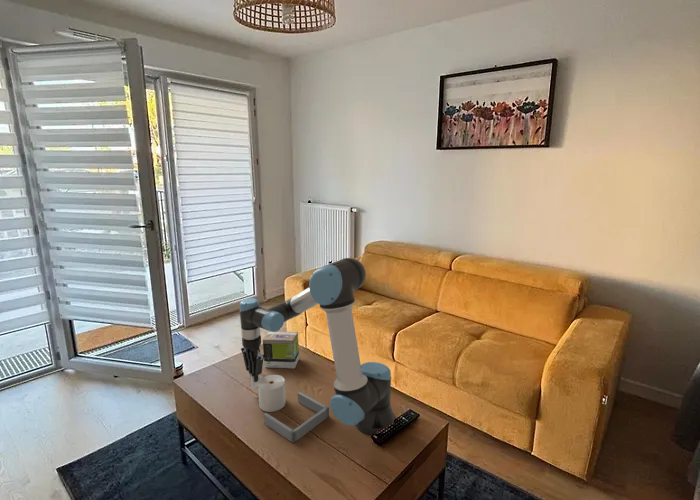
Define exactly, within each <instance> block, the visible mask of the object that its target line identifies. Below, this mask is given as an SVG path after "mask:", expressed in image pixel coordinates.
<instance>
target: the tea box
mask: <svg viewBox="0 0 700 500" xmlns="http://www.w3.org/2000/svg"><path fill="white" fill-rule="evenodd" d="M299 347H300V346H299V333H298V331H282V330H281V331H280V330H279V331H277V332H272V331H268V332H267V333H266V334H265V336H264V338H263V339H262V349H263V353H262V354H263V355H264V356H265V357H264V359H263V365H264V368H273V369H274V368H275V369H277V368H278V369H296V367H297V364H298V362H299V360H300V351H299V350H300V348H299Z"/></svg>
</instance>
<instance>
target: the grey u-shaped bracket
mask: <svg viewBox="0 0 700 500" xmlns="http://www.w3.org/2000/svg"><path fill="white" fill-rule="evenodd" d="M297 402H298V403H299V404H301V405H303V406H304V407H307V408H308V409H310V410H312V411H313V412H315V414H314V415H312V416H311V417H310V418H308V419H307V420H305V421H304V422H303V423H301V424H300V425H299V426H297V427H295V428H294V429H292V428H291V427H289V426H287V425H286V424H284V423H283V422H281V421H280V420H279V419H276V418H275V417H274V416H272V415H270V414H269V413H268V412H265V413H263V423H264V425H266V426H267V427H269V428H270V429H271V430H273V431H275V432H276V433H277V434H279V435H281V436H282V437H283V438H285V439H286V440H289V442H291V443H292V444H294V443H296V442H297V441H299V440H300V439H301V438H303V437H304V436H305V435H307V434H308V433H309V432H310V431H312V430H313V429H314V428H316V427H317V426H318V425H320V424H321V423H322V422H324V421H325V420H327V419H328V418H329V417H330V406H327V405H325V404H323V403H321V402H319V401H317V400H316V399H315V398H312V397H310V396H309V395H307V394H305V393H303V392H302V391H299V392H297Z"/></svg>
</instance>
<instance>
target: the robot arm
mask: <svg viewBox="0 0 700 500" xmlns="http://www.w3.org/2000/svg"><path fill="white" fill-rule="evenodd" d="M366 275H367V271H366V269H365V266H364V265H363V263H362V262H361V261H360V260H359V259H356V258H352V257H346V258H341V259H340V260H337V261H334V262H331V263H329V264H325V265H322V266H321V267H319V268H318V269H316V270H315V271H313V273H312V275H311V276H310V278H309V282H308V283H309V284H308V287H307V288H305V289H304V290H302V291H301V292H299V293H297V294H295V295H293V296H292V297H290V298H289V299H287V300H284V301H283V302H281V303H279V304H276V305H274V306H271V307H269V308H265V307H262V306H260V302H259V300H258V299H257V298H253V297H248V298H245V299H242V300H241V301H240V302H239V317H240V331H241V341H242V342H241V344H242V347H241V348H240V351H241V353H242V357H243V360H244V361H243V362H244V366H245V367H244V368H245V370H246V371H247V372H248V373H249V379H250V387H251V388H250V389H251V390H255V389H258V379H259V376H260V375H262V373H263V365H264V357H265V356H264V354H262V353H261V348H260V347H261V345H262V336H261V332H262V331H261V329H263V330H265V331H268V332H269V331H272V332H277V331H280V330H281V328H283V326H284V323H286V322H287V321H289V320H292V319H293V318H295V317H298V316H300V315H301V314H303V313H305V312H306V311H308V310H311V309H312V308H314V307H315V306H317V305H319V308H320V309H322V311H325V316H326V321H327V326H328V327H327V329H328V333H329V339H330V345H331V351H332V356H333V361H334V367H335V374H336V379H335V380H334V382H333V387H334V388H333V389H334V395H332V397H331V399H330V401H329V408H330V411H331V412H332V415H333V416H334V417H335V418H336V419H338V422H339V421H340V423H342V424H343V425H346V426H351V427H353V426H356V429H358V431H360V432H362V433H363V434H367V435H370V434H374V433H376V432H377V431H379V430H381V429H383V428H385V427H387V426H389V425H391V424H392V423H393V422H394V420H395V413H394V412H393V409H392V405H391V393H392V392H391V389H392V388H391V387H392V386H391V385H392V383H391V381H392V373H391V369H390V368H389V367H388V365H385V364H384V363H381V362H377V361H376V362H375V361H369V362H364V363H362V364H361V359H360V353H359V347H358V340H357V335H356V327H355V323H354V316H353V310H352V309H353V308H352V307H353V305H354V304H355V303H356V299H355V293H354V292H355V291H357V290H359V289H360V288H361V287H362V286H363V285H364V283H365V281H366Z"/></svg>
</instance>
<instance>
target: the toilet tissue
mask: <svg viewBox="0 0 700 500" xmlns="http://www.w3.org/2000/svg"><path fill="white" fill-rule="evenodd" d="M285 382H286V380H285V378H284V377H283V376H282V375H278V374H269V375H265V376H264V377H263V376H262V374H259V375H258V387H257V391H258V392H257V394H258V396H257V397H258V406H259V409H260V410H262V411H263V412H265V413H268V412H269V413H272V412H278V411H280V410H281V409H283V408H284V407H285V405H286V404H287V401H286V383H285Z"/></svg>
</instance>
